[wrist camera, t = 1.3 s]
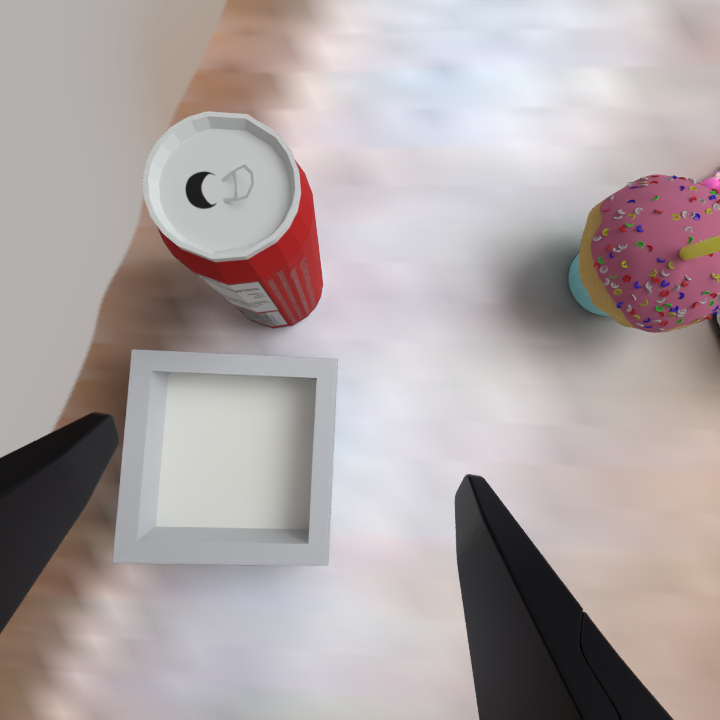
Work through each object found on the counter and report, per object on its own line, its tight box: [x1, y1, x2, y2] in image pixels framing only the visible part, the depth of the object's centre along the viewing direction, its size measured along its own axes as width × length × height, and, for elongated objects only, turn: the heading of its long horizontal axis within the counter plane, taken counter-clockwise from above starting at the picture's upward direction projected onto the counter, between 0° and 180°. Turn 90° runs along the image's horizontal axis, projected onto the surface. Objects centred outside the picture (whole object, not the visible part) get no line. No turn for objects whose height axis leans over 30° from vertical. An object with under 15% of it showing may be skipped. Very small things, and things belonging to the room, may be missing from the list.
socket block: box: [113, 349, 338, 566], centre depth 20 cm, size 10×10×4 cm
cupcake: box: [569, 175, 720, 332], centre depth 19 cm, size 9×8×12 cm
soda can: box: [143, 111, 323, 328], centre depth 18 cm, size 6×6×12 cm
